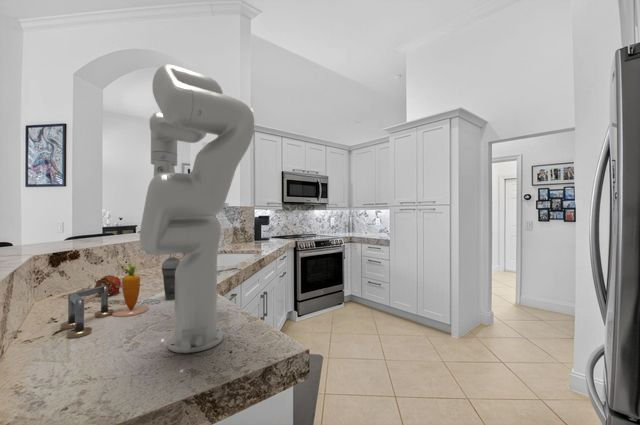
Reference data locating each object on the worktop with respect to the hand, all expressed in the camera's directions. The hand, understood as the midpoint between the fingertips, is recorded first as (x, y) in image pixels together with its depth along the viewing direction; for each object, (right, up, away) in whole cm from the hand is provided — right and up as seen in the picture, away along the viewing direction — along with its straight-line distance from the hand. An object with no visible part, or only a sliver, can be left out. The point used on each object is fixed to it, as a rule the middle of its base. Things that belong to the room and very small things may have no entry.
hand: (164, 212), depth 92 cm
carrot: (-12, -32, +2) cm, 34 cm away
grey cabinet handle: (-18, -32, -10) cm, 38 cm away
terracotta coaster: (-12, -32, +2) cm, 35 cm away
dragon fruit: (-36, -33, +24) cm, 54 cm away
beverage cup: (-6, -33, +17) cm, 38 cm away
